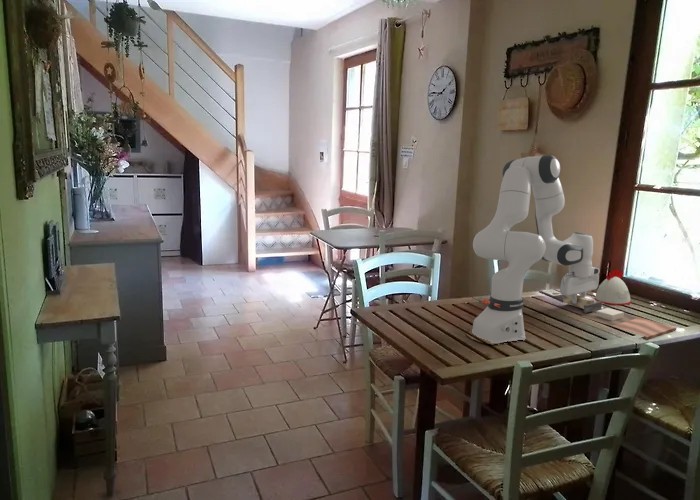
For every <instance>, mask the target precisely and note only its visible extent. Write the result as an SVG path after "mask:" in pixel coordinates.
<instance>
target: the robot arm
mask: <svg viewBox="0 0 700 500" xmlns="http://www.w3.org/2000/svg"><path fill="white" fill-rule="evenodd" d="M560 175H561V163H560V161H559V159H558V158H557V157H555V156H554V155H552V154H544V155H537V156H535V155H534V156H525V157H521V158H517V159H512V160H510V161H508V162H506V163H505V165H504V166H503V168H502V181H501V185H500V188H499V197H498V202H497V207H496V212H495V214H494V216H493V218H492V220H491V221H490V223H489V224H488V225H487V226H486V227H484V228H483V229H482V230H480V231H478V233H477V232H476V234H475V236H474V238H473V242H472V248H473V251H474V253H475V255H476V256H477V257H480V258H483V259H486V260H494V261H506V262H508V266H507V267H504V268H503V269H500V270H498V271H495V273H494V274H493V275H492V276H491V293H490V294H491V295H490V297H489V299H488V298H483V299H482V301H481V302H482V304H483V305H484V304H485V305H487V306H486V308H484V310H482V311H481V313H479V314H478V315H477V316H476V317H475V318H474V320H473V323H472V329H471V330H472V333H473V334H474V335H476V336H477V337H479V338H482V339H485V340H488V341H490V342H491V343H500V342H507V341H517V340H523V341H526V340H527V338H526V331H525V326H524V315H523V308H524V297H523V287H524V281H525V277H526V274H527V272H528V271H529V269H530V268H531V267H532V266H533V265H534V264H536V263H538V262H539V261H540V260H542V261H545V262H550V263H554V264H557V265H561V266H565V267H566V266H568V272H567V273H565V274H564V275H563V277H562V278H561V282H560V287H559V291H560V293H561V294H562V295H565V296H569V295H571V297H572V303H575V304H576V303H578V299H577V297H576V296H578V294H580V295H579V296H581V297H584V298H586V296H587V295H588V294H587V293H588V292H591V291H594V290H598V288H599V282H600V280H599V279H600V275H599V274H600V270H601V269H600V268H598V267H595V266H593V261H592V260H593V259H592V258H593V255H594V238H593V236H592V235H591V234H589V233H583V232H579V231H577V232H576V231H575V232H573V233H572V234H571V235H570V236H569V237H567V238H566V239H564V240H559V239H558V238H556V237H555V235H554V230H553V223H552V222H553V221H552V219H553V216H556V215H558V214H559V213H560V212H561V211H562V210H563V209H564V207H565V203H566V200H565V194H564V189H563V186H562V183H561V180H560V178H559V177H560ZM531 194H533V199H534V203H535V210H534V219H535V225H536V231H537V234H536V233H532V232H529V231H513V230H511V228H513V226H514V225H516V224H519V223H522V222H523V221H524V220H525V219H527V217H528V215H529V210H530V202H531ZM525 339H526V340H525ZM517 342H518V341H517Z"/></svg>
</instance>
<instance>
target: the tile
mask: <svg viewBox="0 0 700 500" xmlns="http://www.w3.org/2000/svg"><path fill="white" fill-rule="evenodd" d="M596 312H597V316H598V317H602V318H605V319H608V320H612V321H613V320H617V319H620V318H624V313H625V312H624V311H621V310H618V309H613V308H611V307H605V308H602V309H599V310H596Z"/></svg>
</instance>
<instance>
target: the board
mask: <svg viewBox="0 0 700 500" xmlns="http://www.w3.org/2000/svg"><path fill="white" fill-rule="evenodd" d="M580 317H581V318H585V319H588V320H592V321H595V322H598V323H600V324H604V325H606V326H611V327H613V328H617V329H621V330H624V331H627V332H630V333H632V334H633V333H634V334H636V335H640V336H642V337H640V338H642V339H644V340H650V339H653V338H657V337H659V336H662V335H666V334H669V333H672V332H674V331H677V326H674V325H673V326H672V325H668V324H666V323H662V322H658V321H655V320H652V319H647V318H644V317H640V316H637V315H632V314H629V313H626V312H624V318H620V319H617V320H613V321H612V320H608V319H605V318H602V317H598V316H597V311H592V312H589V313H585V314H583V315H580Z"/></svg>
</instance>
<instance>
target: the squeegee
mask: <svg viewBox="0 0 700 500" xmlns="http://www.w3.org/2000/svg"><path fill="white" fill-rule="evenodd" d="M576 297H577V299H578V303H576V304H575V303H572V297H571V295H569V296H565V295H564V299H563V302H562V303H564V304H567V305H571V306H573V307H576V308H579V309H583V313H585V314H588V313H592V312H596V311H598V310H602V309H603V308H602V307H603V303H602V302H601V301H599V302H598V301H596V302H595V300H594V299H590V298H587V297H585V298H584V297H581V296H580V295H577V296H576Z"/></svg>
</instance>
